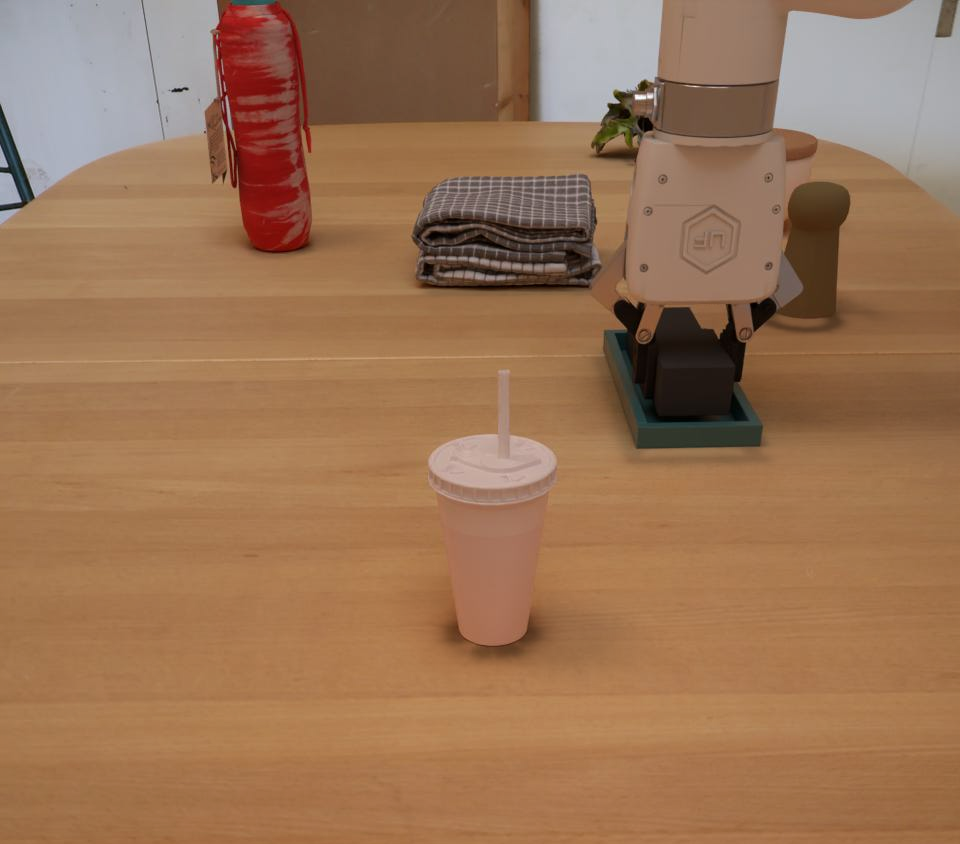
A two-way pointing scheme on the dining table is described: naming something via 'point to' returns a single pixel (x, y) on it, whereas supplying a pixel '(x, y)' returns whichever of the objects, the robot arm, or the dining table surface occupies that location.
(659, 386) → the black rectangular block
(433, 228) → the towel
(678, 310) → the dark brown rectangular block
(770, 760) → the dining table surface
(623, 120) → the green leafy plant
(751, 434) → the tray
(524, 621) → the smoothie
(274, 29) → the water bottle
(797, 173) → the lidded bowl
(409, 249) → the dining table surface
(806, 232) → the pepper mill
